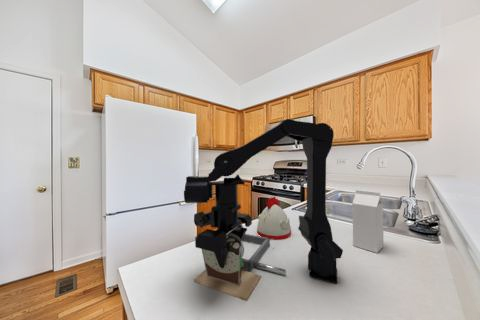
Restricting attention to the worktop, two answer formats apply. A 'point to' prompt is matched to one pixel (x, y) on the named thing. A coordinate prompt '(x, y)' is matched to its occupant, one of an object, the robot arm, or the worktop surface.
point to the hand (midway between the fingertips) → (227, 261)
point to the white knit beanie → (273, 222)
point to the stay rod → (269, 268)
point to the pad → (241, 291)
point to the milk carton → (368, 221)
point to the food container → (232, 265)
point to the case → (259, 252)
